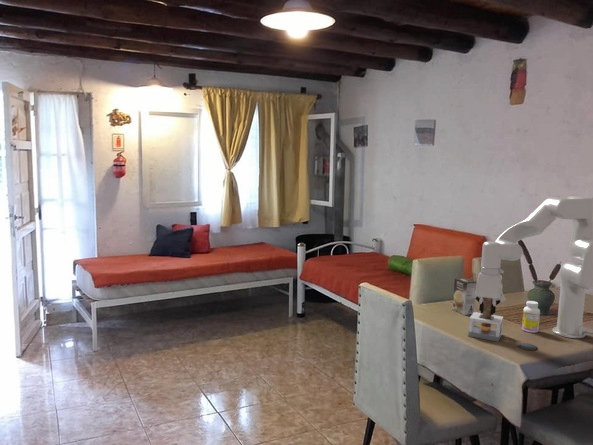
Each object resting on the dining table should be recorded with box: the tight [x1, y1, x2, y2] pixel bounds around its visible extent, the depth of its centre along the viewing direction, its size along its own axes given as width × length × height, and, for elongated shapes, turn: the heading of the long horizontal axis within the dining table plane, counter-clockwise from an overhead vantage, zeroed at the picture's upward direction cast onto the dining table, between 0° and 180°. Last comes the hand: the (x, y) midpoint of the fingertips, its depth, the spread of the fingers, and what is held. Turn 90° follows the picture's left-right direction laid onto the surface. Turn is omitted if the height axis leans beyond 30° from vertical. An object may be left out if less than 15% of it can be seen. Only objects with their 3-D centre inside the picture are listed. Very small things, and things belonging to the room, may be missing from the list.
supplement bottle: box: [521, 300, 541, 334], centre depth 228 cm, size 7×7×13 cm
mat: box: [517, 342, 538, 351], centre depth 208 cm, size 7×7×1 cm
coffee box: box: [452, 277, 477, 316], centre depth 253 cm, size 9×6×16 cm
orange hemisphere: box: [480, 323, 492, 332], centre depth 220 cm, size 4×4×2 cm
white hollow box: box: [467, 311, 504, 342], centre depth 220 cm, size 12×10×8 cm
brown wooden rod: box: [481, 298, 493, 327], centre depth 219 cm, size 4×4×14 cm
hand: (487, 313), depth 220 cm, fingers closed on brown wooden rod, 3 cm apart
